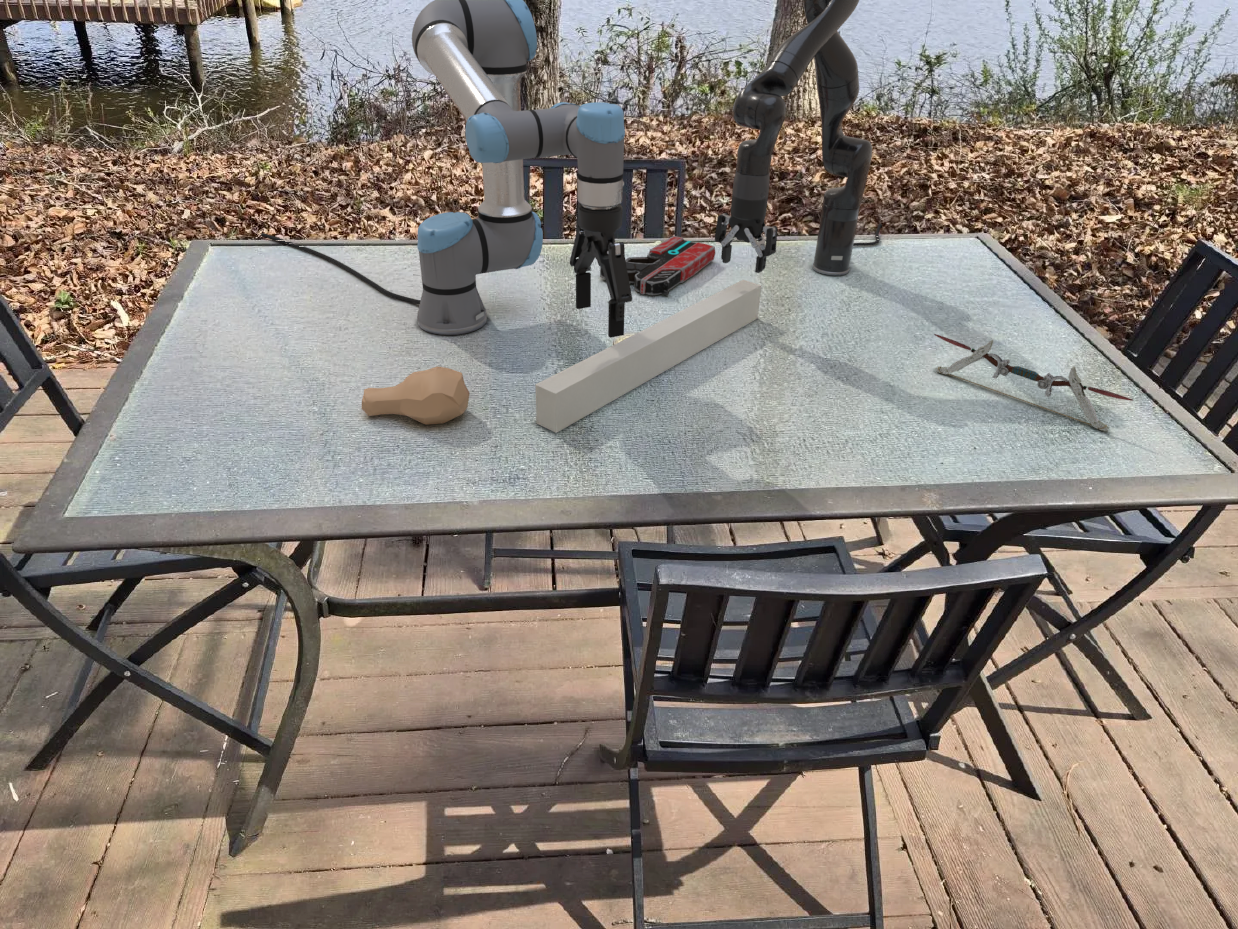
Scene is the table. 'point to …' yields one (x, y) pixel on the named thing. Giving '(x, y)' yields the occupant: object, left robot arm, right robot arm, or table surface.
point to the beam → (643, 356)
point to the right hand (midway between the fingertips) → (742, 266)
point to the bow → (1043, 382)
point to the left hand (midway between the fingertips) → (599, 321)
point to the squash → (421, 397)
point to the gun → (667, 265)
